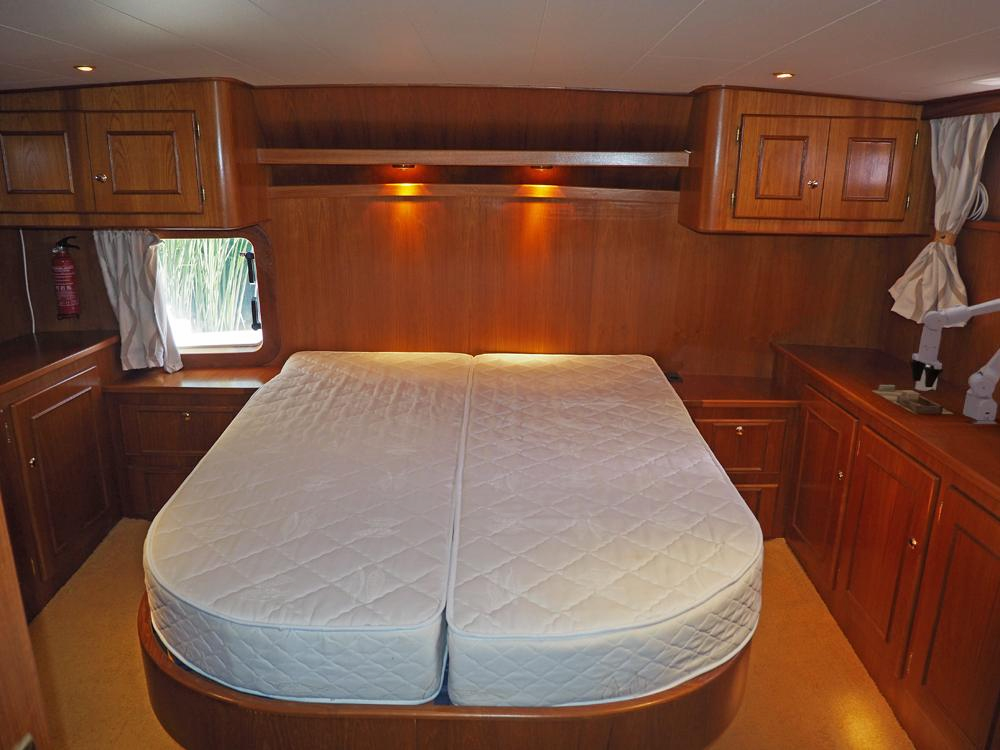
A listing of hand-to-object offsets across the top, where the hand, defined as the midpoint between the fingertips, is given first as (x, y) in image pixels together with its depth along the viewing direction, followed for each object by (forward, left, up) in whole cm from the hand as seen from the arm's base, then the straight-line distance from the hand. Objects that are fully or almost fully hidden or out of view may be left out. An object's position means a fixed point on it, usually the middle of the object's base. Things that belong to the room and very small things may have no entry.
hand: (922, 383), depth 249 cm
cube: (+6, 0, -9) cm, 11 cm away
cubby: (0, 0, -9) cm, 9 cm away
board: (+9, -2, -10) cm, 14 cm away
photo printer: (+25, -18, -11) cm, 33 cm away
